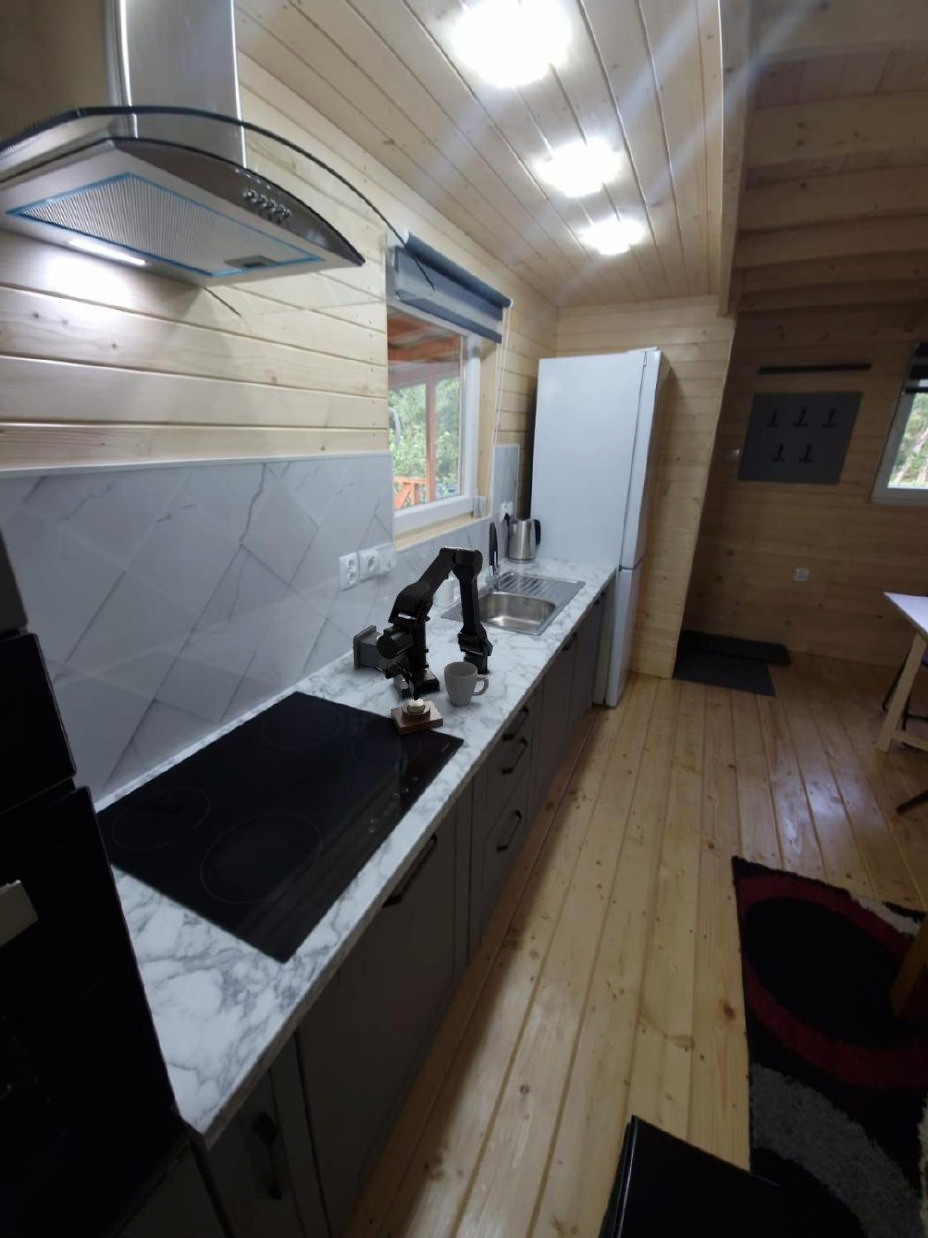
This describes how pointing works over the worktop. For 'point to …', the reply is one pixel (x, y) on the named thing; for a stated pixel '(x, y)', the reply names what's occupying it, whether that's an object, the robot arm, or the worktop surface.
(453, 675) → the mug
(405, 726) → the switch block
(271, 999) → the worktop surface
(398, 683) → the dimmer panel
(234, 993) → the worktop surface
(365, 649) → the light fixture
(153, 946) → the worktop surface
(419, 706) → the button
